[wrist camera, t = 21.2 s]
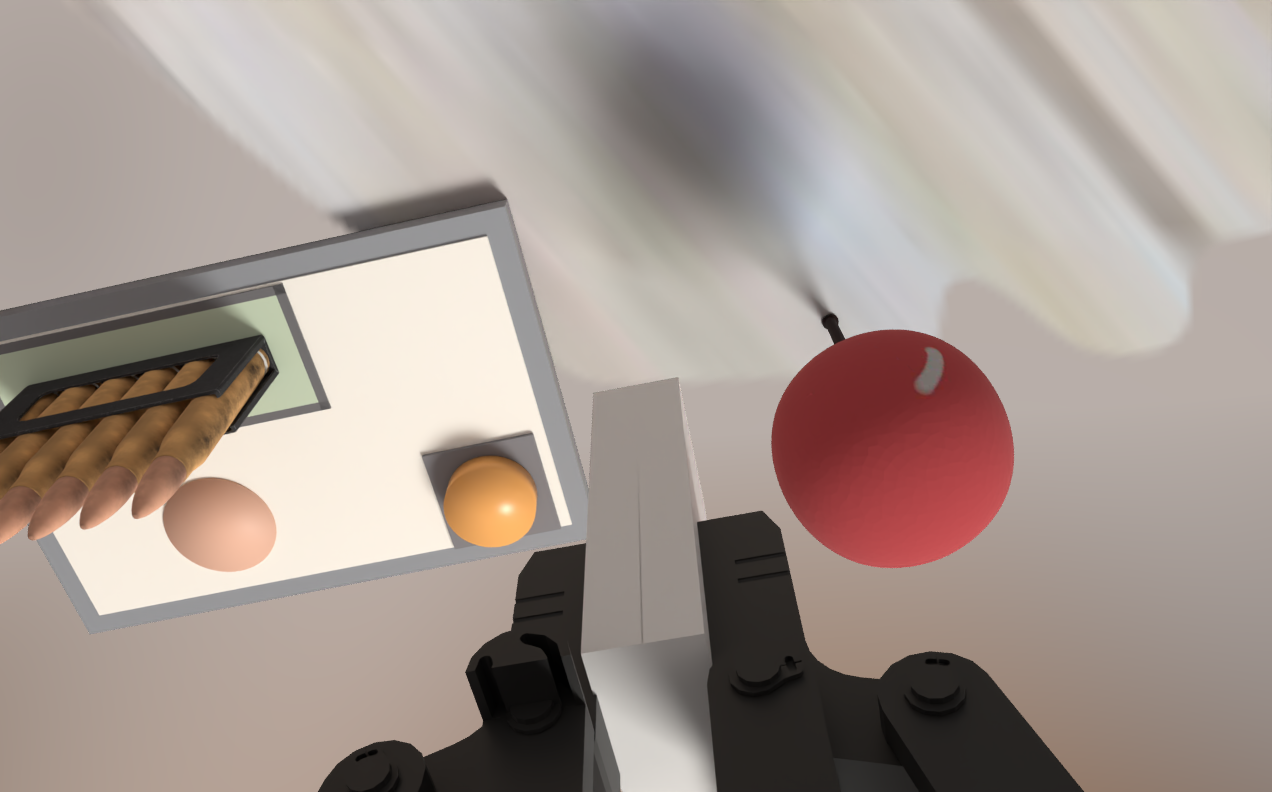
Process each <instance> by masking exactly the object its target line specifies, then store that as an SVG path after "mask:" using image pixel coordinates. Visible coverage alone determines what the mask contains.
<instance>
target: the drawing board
mask: <svg viewBox="0 0 1272 792" xmlns="http://www.w3.org/2000/svg"><path fill="white" fill-rule="evenodd" d="M261 334H262V335H263V336H264V337H265V339H266V342H267V344H268V346H269V349H270V351H271V354H272V356H273V358H274V361H275V363H276V366H277V368H278V370H279V374H278V375H277V377H276V378H275V380H274V381H273V382H272V384H271V385H270V386H269V388H268V389H267V390H266V392H265V393H264V395H263V396H262V397H261V399H260V400H259V401H258V403H257V404H256V405H255V407H254V408H253V410H252V411H251V412H250V414H249V415H248V416H247V418H246V419H245V420H244V422H243V423H242V425H241V426H240V427H239V429H238V430H237V431H236V432H234V433H230V434H225V435H223V436H222V438H221V439H220V441H219V442H218V443H217V445H216V446H215V448H214V449H213V451H212V452H211V454H210V455H209V456H208V458H207V459H206V461H205V462H204V463H203V464H202V465H201V466H199V467H198V468H197V469H195V470H194V471H193V472H192V473H191V474H190V476H189V477H188V478H187V479H186V480H185V482H183V483H182V484H181V486H180V487H179V488H178V490H177V491H176V492H175V494H174V495H173V496H172V497H171V498H170V499H169V500H168V501H167V502H166V503H165V504H164V505H162V506H161V507H160V508H159V509H157V510H156V511H154V512H153V513H151V514H150V515H148V516H146V517H143V518H140V519H134V518H133V517H132V512H131V509H132V501H133V497H134V494H135V493H133V495H132V496H131V497H130V498H129V500H128V501H127V502H126V503H125V504H124V505H123V506H122V507H121V508H120V509H119V510H118V511H117V512H116V513H115V514H114V515H112V516H111V517H110V518H108V519H107V520H105V521H104V522H102V523H101V524H99V525H97V526H95V527H93V528H90V529H86V530H83V529H81V528H80V524H79V520H80V513H81V510H82V507H83V506H82V507H81V509H80V510H79V511H78V512H77V513H76V514H75V515H74V516H73V517H72V518H71V519H70V520H69V521H67V522H66V523H65V524H64V525H62V526H61V527H60V528H58V529H57V530H55V531H54V532H52V533H50V534H49V535H47V536H45V537H43V538H40V539H37V542H38V544H39V546H40V547H41V549H42V551H43V553H44V554H45V556H46V558H47V560H48V562H49V563H50V565H51V567H52V568H53V570H54V572H55V573H56V576H57V577H58V579H59V580H60V583H61V584H62V586H63V588H64V590H65V591H66V593H67V595H68V596H69V598H70V600H71V602H72V604H73V605H74V607H75V609H76V611H77V612H78V614H79V616H80V618H81V619H82V621H83V623H84V625H85V627H86V628H87V630H88V632H89V634H94V633H99V632H104V631H109V630H115V629H120V628H125V627H130V626H136V625H141V624H146V623H151V622H157V621H162V620H167V619H172V618H177V617H183V616H188V615H193V614H198V613H204V612H209V611H213V610H219V609H225V608H230V607H234V606H240V605H246V604H250V603H256V602H261V601H266V600H272V599H277V598H282V597H287V596H293V595H297V594H303V593H308V592H314V591H319V590H324V589H329V588H334V587H340V586H345V585H350V584H355V583H361V582H366V581H371V580H376V579H381V578H387V577H392V576H397V575H402V574H408V573H413V572H418V571H423V570H429V569H434V568H439V567H444V566H449V565H455V564H460V563H465V562H471V561H476V560H481V559H486V558H491V557H496V556H502V555H507V554H512V553H517V552H523V551H528V550H533V549H539V548H544V547H549V546H554V545H559V544H565V543H570V542H575V541H580V540H586V536H587V515H588V494H589V489H588V485H587V482H586V478H585V474H584V471H583V467H582V464H581V460H580V457H579V453H578V449H577V446H576V442H575V439H574V435H573V432H572V428H571V425H570V421H569V417H568V414H567V410H566V407H565V403H564V400H563V396H562V392H561V389H560V385H559V382H558V378H557V375H556V371H555V367H554V364H553V360H552V357H551V353H550V350H549V346H548V343H547V339H546V335H545V332H544V328H543V325H542V321H541V318H540V314H539V310H538V307H537V303H536V300H535V296H534V293H533V289H532V286H531V282H530V278H529V275H528V271H527V268H526V264H525V261H524V257H523V253H522V250H521V246H520V243H519V239H518V236H517V232H516V228H515V225H514V221H513V218H512V214H511V211H510V207H509V204H508V200H507V199H506V200H501V201H497V202H492V203H488V204H483V205H478V206H474V207H469V208H465V209H460V210H456V211H451V212H447V213H442V214H438V215H433V216H428V217H424V218H419V219H415V220H410V221H406V222H401V223H397V224H392V225H388V226H383V227H378V228H374V229H369V230H365V231H360V232H356V233H351V234H347V235H342V236H337V237H333V238H328V239H324V240H320V241H315V242H310V243H306V244H301V245H297V246H292V247H287V248H283V249H278V250H274V251H270V252H265V253H261V254H256V255H251V256H247V257H243V258H238V259H233V260H229V261H224V262H219V263H215V264H210V265H206V266H201V267H197V268H193V269H188V270H183V271H178V272H174V273H169V274H165V275H160V276H156V277H151V278H147V279H142V280H137V281H133V282H129V283H124V284H120V285H115V286H111V287H106V288H102V289H97V290H92V291H88V292H83V293H78V294H74V295H69V296H65V297H60V298H56V299H51V300H47V301H42V302H38V303H33V304H28V305H24V306H19V307H15V308H10V309H6V310H1V311H0V411H1V410H2V409H3V408H4V407H5V406H6V405H7V404H8V403H9V402H10V401H11V400H13V399H14V398H15V397H16V396H17V395H18V394H19V393H20V392H21V391H22V390H23V389H24V388H25V387H27V386H28V385H32V384H36V383H41V382H46V381H50V380H55V379H59V378H64V377H69V376H73V375H78V374H82V373H87V372H92V371H96V370H101V369H105V368H110V367H114V366H119V365H124V364H128V363H133V362H137V361H142V360H147V359H151V358H156V357H160V356H165V355H170V354H174V353H179V352H183V351H188V350H193V349H197V348H202V347H206V346H211V345H215V344H220V343H225V342H229V341H234V340H238V339H243V338H248V337H252V336H257V335H261ZM480 456H500V457H504V458H507V459H510V460H512V461H515V462H516V463H518V464H520V465H521V466H522V467H523V468H525V469H526V470H527V471H528V472H529V474H530V475H531V476H532V478H533V480H534V482H535V484H536V488H537V495H538V497H537V506H536V514H535V519H534V522H533V525H532V526H531V528H530V530H529V531H528V532H527V533H526V534H525V535H524V536H523V537H522V538H521V539H519V540H518V541H516V542H514V543H512V544H509V545H506V546H502V547H482V546H478V545H475V544H472V543H469V542H467V541H466V540H464V539H462V538H461V537H459V536H458V535H457V534H456V533H455V532H454V531H453V530H452V529H451V527H450V526H449V524H448V523H447V520H446V518H445V515H444V508H443V506H444V498H445V494H446V491H447V487H448V483H449V481H450V478H451V476H452V474H453V473H454V472H455V470H456V469H457V468H458V467H459V466H461V465H462V464H463V463H465V462H467V461H468V460H471V459H473V458H476V457H480ZM29 523H30V522H29ZM29 523H28V524H27V525H28V526H29Z"/></svg>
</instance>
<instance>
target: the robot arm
mask: <svg viewBox="0 0 1272 792" xmlns="http://www.w3.org/2000/svg"><path fill="white" fill-rule="evenodd" d="M515 600H516V604H515V607H514V614H513V624H512V629H511V631H508V632H505V633H502V634H500V635H499V636H497V637H495V638H494V639H492V640H490V641H489V642H487V643H485V644H484V645H483V646H482V647H481V648H480V649H479V650H478V651H477V652H476V653H475V654H474V655H473V656H472V658H471V660H470V662H469V665H468V667H467V670H466V672H465V673H466V675H467V678H468V681H469V683H470V686H471V689H472V692H473V694H474V697H475V700H476V703H477V705H478V708H479V710H480V714H481V716H482V719H483V725H482V727H481V728H480V729H478V730H477V731H476V732H474V733H473V734H472V735H470V736H469V737H467V738H465V739H463V740H461V741H459V742H457V743H456V744H454V745H451V746H449V747H446V748H444V749H442V750H439V751H437V752H435V753H432V754H430V755H428V756H425V757H423V756H422V753H421V752H419V751H418V750H417V749H416V748H415V747H414V746H412V745H411V744H409V743H405V742H400V741H396V740H392V741H384V742H376V743H373V744H371V745H368V746H366V747H363V748H361V749H358V750H356V751H355V752H353V753H352V754H350V755H349V756H348V757H346V758H345V759H344V760H342V761H341V762H340V763H338V764H337V765H336V766H335V768H334V769H333V770H332V771H331V773H330V774H329V775H328V776H327V778H326V779H325V780H324V782H323V784H322V786H321V787H320V789H319V791H318V792H620V787H621V790H622V792H1084V791H1083V790H1082V789H1081V787H1080V786H1079V785H1078V784H1077V783H1076V781H1075V780H1074V779H1073V778H1072V776H1071V775H1070V774H1069V773H1068V772H1067V770H1066V769H1065V768H1064V767H1063V765H1062V764H1061V763H1060V762H1059V760H1058V759H1057V758H1056V757H1055V756H1054V754H1053V753H1052V752H1051V751H1050V749H1049V748H1048V747H1047V746H1046V745H1045V743H1044V742H1043V741H1042V740H1041V738H1040V737H1039V736H1038V735H1037V734H1036V733H1035V731H1034V730H1033V729H1032V727H1031V726H1030V725H1029V724H1028V723H1027V721H1026V720H1025V719H1024V718H1023V717H1022V715H1021V714H1020V713H1019V712H1018V710H1017V709H1016V708H1015V707H1014V705H1013V704H1012V703H1011V702H1010V700H1009V699H1008V698H1007V697H1006V696H1005V694H1004V693H1003V692H1002V691H1001V689H1000V688H999V687H998V686H997V685H996V683H995V682H994V681H993V680H992V678H991V677H990V676H989V675H988V674H987V673H986V672H985V671H984V670H983V669H981V668H980V667H979V666H978V665H977V664H975V663H974V662H973V661H971V660H968V659H966V658H963V657H960V656H958V655H955V654H952V653H941V652H925V653H919V654H914V655H909V656H907V657H905V658H903V659H902V660H900V661H898V662H896V663H894V664H892V665H891V666H890V667H889V669H888V670H887V671H886V672H885V673H884V675H883V676H882V677H881V678H880V679H872V678H861V677H856V676H850V675H845V674H842V673H839V672H837V671H834V670H832V669H829V668H828V667H826V666H825V665H824V664H822V663H820V662H819V661H817V659H816V658H815V657H814V656H813V655H812V653H811V652H810V651H809V648H808V646H807V643H806V641H805V637H804V633H803V628H802V624H801V620H800V615H799V610H798V606H797V602H796V597H795V592H794V588H793V583H792V579H791V575H790V570H789V565H788V561H787V556H786V552H785V548H784V543H783V539H782V534H781V529H780V528H779V527H778V526H777V525H776V524H775V523H774V522H773V521H772V520H771V519H770V518H769V517H768V516H767V515H766V514H765V513H764V512H763V511H757V512H752V513H746V514H740V515H734V516H729V517H723V518H717V519H711V520H707V519H706V512H705V504H704V499H703V495H702V489H701V485H700V480H699V475H698V470H697V465H696V460H695V456H694V451H693V446H692V442H691V436H690V432H689V427H688V422H687V417H686V412H685V407H684V402H683V398H682V393H681V388H680V383H679V378H678V377H677V378H671V379H666V380H661V381H655V382H650V383H644V384H639V385H633V386H628V387H623V388H617V389H612V390H607V391H601V392H596V393H593V410H592V431H591V454H590V473H589V494H588V515H587V536H586V543H585V544H579V545H574V546H569V547H562V548H557V549H551V550H545V551H539V552H534V554H533V555H532V557H531V558H530V560H529V561H528V563H527V564H526V566H525V567H524V569H523V570H522V572H521V573H520V574H519V577H518V584H517V592H516V599H515Z"/></svg>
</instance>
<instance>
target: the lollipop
mask: <svg viewBox="0 0 1272 792" xmlns="http://www.w3.org/2000/svg"><path fill="white" fill-rule="evenodd" d="M822 323H823V326H824V328H826V329H828V331H829V333H830V336H831V338H832V340H833V343H834V345H832V346H831V347H829V348H827V349H826V350H824V351H823V352H821V353H820V354H818V355H817V356H816V357H814V358H813V359H812V360H811V361H810V362H809V363H807V364H806V365H805V366H804V367H803V368H802V369H801V370H800V371H799V372H798V374H797V375H796V376H795V377H794V378H793V380H792V381H791V383H790V384H789V386H788V387H787V389H786V390H785V392H784V394H783V395H782V398H781V400H780V402H779V404H778V407H777V410H776V413H775V418H774V421H773V428H772V441H771V442H772V443H771V444H772V456H773V463H774V468H775V472H776V475H777V479H778V481H779V485H780V487H781V489H782V492H783V494H784V496H785V499H786V501H787V502H788V504H789V506H790V508H791V509H792V511H793V512H794V514H795V515H796V517H797V518H798V520H799V521H800V522H801V523H802V525H803V526H804V527H805V528H806V529H807V530H808V531H809V532H810V533H811V534H812V535H813V536H814V537H815V538H816V539H817V540H818V541H819V542H821V543H822V544H823V545H824V546H826V547H827V548H829V549H831V550H832V551H833V552H835V553H837V554H839V555H841V556H842V557H845V558H847V559H849V560H851V561H854V562H857V563H860V564H864V565H868V566H873V567H881V568H901V567H911V566H917V565H921V564H925V563H929V562H932V561H935V560H938V559H941V558H943V557H945V556H948V555H949V554H951V553H953V552H955V551H957V550H958V549H960V548H962V547H963V546H965V545H966V544H967V543H969V542H970V541H971V540H973V539H974V538H975V537H976V536H977V535H978V534H979V533H980V532H982V530H983V529H985V527H987V525H988V524H989V523H990V522H991V520H992V519H993V518H994V517H995V515H996V514H997V512H998V511H999V509H1000V507H1001V506H1002V504H1003V502H1004V499H1005V497H1006V495H1007V492H1008V489H1009V486H1010V483H1011V478H1012V473H1013V465H1014V446H1013V437H1012V432H1011V427H1010V424H1009V420H1008V417H1007V414H1006V412H1005V409H1004V407H1003V404H1002V402H1001V400H1000V398H999V396H998V394H997V393H996V391H995V389H994V387H993V386H992V384H991V383H990V381H989V380H988V379H987V377H986V376H985V375H984V373H983V372H982V371H981V370H980V369H979V368H978V366H977V365H976V364H975V363H973V362H972V361H971V360H970V359H969V358H968V357H967V356H966V355H965V354H963V353H962V352H961V351H959V350H958V349H956V348H955V347H953V346H952V345H950V344H948V343H946V342H945V341H943V340H941V339H938V338H936V337H933V336H931V335H927V334H924V333H920V332H915V331H909V330H880V331H873V332H868V333H863V334H859V335H856V336H853V337H850V338H848V339H845V338H844V336H843V334H842V332H841V330H840V328H839V326H838V318H837V317H836V316H835V315H832V314H830V315H827V316H826V317H824V319H823V321H822Z"/></svg>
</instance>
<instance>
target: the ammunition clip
mask: <svg viewBox="0 0 1272 792" xmlns="http://www.w3.org/2000/svg"><path fill="white" fill-rule="evenodd" d="M278 374H279V370H278V368H277V366H276V363H275V361H274V358H273V356H272V354H271V351H270V349H269V346H268V344H267V342H266V339H265V337H264V336H263V335H262V334H261V335H257V336H252V337H248V338H243V339H238V340H234V341H229V342H225V343H220V344H215V345H211V346H206V347H202V348H197V349H193V350H188V351H183V352H179V353H174V354H170V355H165V356H160V357H156V358H151V359H147V360H142V361H137V362H133V363H128V364H124V365H119V366H114V367H110V368H105V369H101V370H96V371H92V372H87V373H82V374H78V375H73V376H69V377H64V378H59V379H55V380H50V381H46V382H41V383H36V384H32V385H28V386H27V387H25V388H24V389H23V390H22V391H21V392H20V393H19V394H18V395H17V396H16V397H15V398H14V399H13V400H11V401H10V402H9V403H8V404H7V405H6V406H5V407H4V408H3V409H2V410H1V411H0V544H1V543H3V542H5V541H6V540H8V539H9V538H11V537H12V536H14V535H15V534H17V533H18V532H19V531H20V530H21V529H23V528H24V527H25V526H26V525H27V524H28V523H29V522H30V523H29V527H28V538H29V539H30V540H37V539H40V538H43V537H45V536H47V535H49V534H50V533H52V532H54V531H55V530H57V529H58V528H60V527H61V526H62V525H64V524H65V523H66V522H67V521H69V520H70V519H71V518H72V517H73V516H74V515H75V514H76V513H77V512H78V511H79V510H80V509H81V507H82V506H83V507H82V510H81V513H80V520H79V524H80V528H81V529H83V530H86V529H90V528H93V527H95V526H97V525H99V524H101V523H102V522H104V521H105V520H107V519H108V518H110V517H111V516H112V515H114V514H115V513H116V512H117V511H118V510H119V509H120V508H121V507H122V506H123V505H124V504H125V503H126V502H127V501H128V500H129V498H130V497H131V496H132V495H133V493H135V494H134V497H133V501H132V509H131V512H132V517H133V518H134V519H140V518H143V517H146V516H148V515H150V514H151V513H153V512H154V511H156V510H157V509H159V508H160V507H161V506H162V505H164V504H165V503H166V502H167V501H168V500H169V499H170V498H171V497H172V496H173V495H174V494H175V492H176V491H177V490H178V488H179V487H180V486H181V484H182V483H183V482H185V480H186V479H187V478H188V477H189V476H190V474H191V473H192V472H193V471H194V470H195V469H197V468H198V467H199V466H201V465H202V464H203V463H204V462H205V461H206V459H207V458H208V456H209V455H210V454H211V452H212V451H213V449H214V448H215V446H216V445H217V443H218V442H219V441H220V439H221V438H222V436H223V435H225V434H230V433H234V432H236V431H237V430H238V429H239V427H240V426H241V425H242V423H243V422H244V420H245V419H246V418H247V416H248V415H249V414H250V412H251V411H252V410H253V408H254V407H255V405H256V404H257V403H258V401H259V400H260V399H261V397H262V396H263V395H264V393H265V392H266V390H267V389H268V388H269V386H270V385H271V384H272V382H273V381H274V380H275V378H276V377H277V375H278Z"/></svg>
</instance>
